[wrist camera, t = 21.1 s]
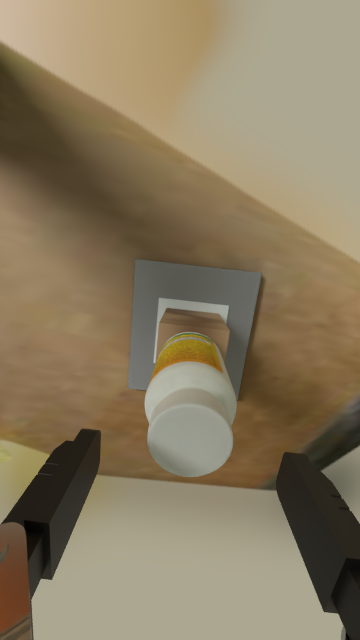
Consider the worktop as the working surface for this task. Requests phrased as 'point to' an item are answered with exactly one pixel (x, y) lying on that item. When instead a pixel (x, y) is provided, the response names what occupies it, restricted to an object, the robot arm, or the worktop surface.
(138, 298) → the grey flat plate
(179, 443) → the supplement bottle
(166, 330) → the tan wooden block
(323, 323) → the worktop surface
